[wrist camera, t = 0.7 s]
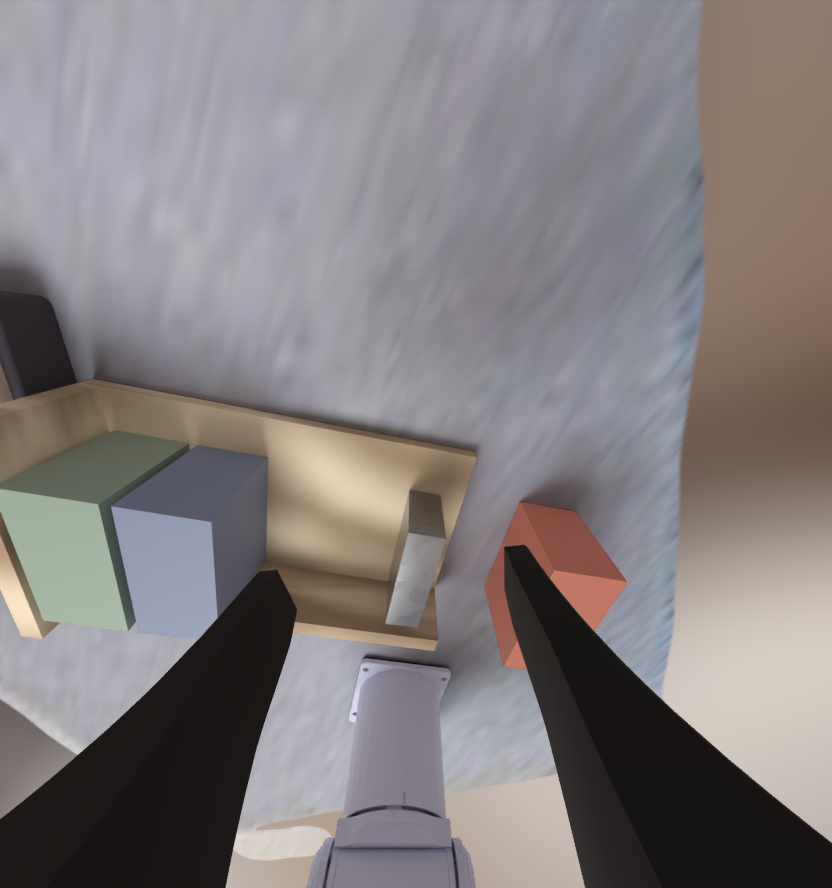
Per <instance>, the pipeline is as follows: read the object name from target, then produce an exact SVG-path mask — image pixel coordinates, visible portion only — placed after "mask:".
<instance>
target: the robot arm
mask: <svg viewBox="0 0 832 888" xmlns="http://www.w3.org/2000/svg"><path fill="white" fill-rule="evenodd" d="M504 591H505V595H506V599H507V604H508V608H509V613H510V617H511V621H512V625H513V628H514V631H515V634H516V637H517V640H518V643H519V647H520V650H521V653H522V656H523V659H524V662H525V665H526V668H527V671H528V674H529V677H530V680H531V682H532V685H533V688H534V691H535V694H536V697H537V700H538V703H539V706H540V709H541V713H542V716H543V720H544V723H545V726H546V730H547V733H548V737H549V741H550V745H551V749H552V753H553V757H554V761H555V765H556V769H557V773H558V777H559V781H560V785H561V789H562V793H563V797H564V801H565V805H566V809H567V813H568V818H569V822H570V826H571V830H572V834H573V838H574V842H575V847H576V851H577V855H578V859H579V863H580V868H581V872H582V876H583V880H584V885H585V888H832V843H831V842H830V841H829V840H827V839H826V838H825V837H823V836H822V835H820V833H818V832H817V831H816V830H814V829H813V828H812V827H811V826H810V825H808V824H807V823H806V822H805V821H803V820H802V819H801V818H800V817H798V816H797V815H796V814H795V813H793V812H792V811H791V810H790V809H788V808H787V807H786V806H785V805H783V804H782V803H781V802H780V801H778V800H777V799H776V798H775V797H773V796H772V795H771V794H770V793H769V792H767V791H766V790H765V789H764V788H763V787H761V786H760V785H759V784H758V783H756V782H755V781H754V780H753V779H752V778H751V777H749V776H748V775H747V774H746V773H745V772H743V771H742V770H741V769H740V768H738V767H737V766H736V765H735V764H734V763H732V762H731V761H730V760H729V759H728V758H727V757H725V756H724V755H723V754H722V753H721V752H720V751H719V750H718V749H716V748H715V747H714V746H713V745H712V744H711V743H710V742H708V741H707V740H706V739H705V738H704V737H703V736H702V735H701V734H699V733H698V732H697V731H696V730H695V729H694V728H692V727H691V726H690V725H689V724H688V723H687V722H686V721H685V720H683V719H682V718H681V717H680V716H679V715H678V714H677V713H676V712H674V711H673V710H672V709H671V708H670V707H669V706H668V705H667V704H666V703H665V702H664V701H663V700H662V699H661V698H659V697H658V696H657V695H656V694H655V693H654V692H653V691H652V690H651V689H650V688H649V687H648V686H647V685H646V684H645V683H644V682H643V681H642V680H641V679H640V678H639V677H638V676H637V675H636V674H635V673H634V672H633V671H632V670H631V669H630V668H629V667H628V666H626V664H625V663H624V662H623V661H622V660H621V659H620V658H619V657H618V656H617V655H616V654H615V653H614V652H613V651H612V650H611V649H610V648H609V647H608V646H607V645H606V644H605V643H604V641H603V640H602V639H601V638H600V637H599V636H598V635H597V634H596V633H595V632H594V631H593V629H592V628H591V627H590V626H589V625H588V624H587V623H586V622H585V620H584V619H583V618H582V617H581V616H580V615H579V614H578V612H577V611H576V610H575V609H574V608H573V606H572V605H571V604H570V603H569V602H568V600H567V599H566V598H565V597H564V596H563V594H562V593H561V592H560V591H559V589H558V588H557V587H556V586H555V584H554V583H553V582H552V580H551V579H550V578H549V576H548V575H547V574H546V573H545V571H544V570H543V568H542V567H541V566H540V564H539V563H538V562H537V560H536V559H535V557H534V556H533V554H532V553H531V551H530V550H529V548H528V547H527V546H525V545H516V546H506V547H504ZM296 614H297V608H296V606H295V604H294V602H293V600H292V598H291V596H290V594H289V592H288V590H287V588H286V586H285V584H284V582H283V580H282V578H281V576H280V574H279V572H278V570H269V571H259V572H258V573H257V574H256V575H255V576H254V577H253V579H252V580H251V581H250V582H249V583H248V584H247V585H246V586H245V588H244V589H243V590H242V591H241V592H240V593H239V594H238V595H237V597H236V598H235V599H234V600H233V601H232V602H231V603H230V605H229V606H228V607H227V608H226V609H225V610H224V611H223V613H222V614H221V615H220V616H219V617H218V618H217V619H216V620H215V621H214V623H213V624H212V625H211V626H210V627H209V628H208V629H207V630H206V631H205V633H204V634H203V635H202V636H201V637H200V638H199V639H198V640H197V641H196V642H195V644H194V645H193V646H192V647H191V648H190V649H189V650H188V651H187V652H186V653H185V654H184V655H183V656H182V657H181V658H180V659H179V660H178V661H177V662H176V663H175V664H174V665H173V667H172V668H171V669H170V670H169V671H168V672H167V673H166V674H165V675H164V676H163V677H162V678H161V679H160V680H159V681H158V682H157V683H156V684H155V685H154V686H153V687H152V688H151V689H150V690H149V691H148V692H147V693H146V694H145V695H144V696H143V697H142V698H141V699H140V700H139V701H137V702H136V703H135V704H134V705H133V706H132V707H131V708H130V709H129V710H128V711H127V712H126V713H125V714H124V715H123V716H122V717H120V718H119V719H118V720H117V721H116V722H115V723H114V724H113V725H112V726H111V727H110V728H108V729H107V730H106V731H105V732H104V733H103V734H102V735H100V736H99V737H98V738H97V739H96V740H95V741H94V742H92V743H91V744H90V745H89V746H88V747H87V748H86V749H84V750H83V751H82V752H81V753H80V754H79V755H77V756H76V757H75V758H74V759H73V760H72V761H71V762H69V763H68V764H67V765H66V766H65V767H64V768H63V769H61V770H60V771H59V772H58V773H57V774H56V775H54V776H53V777H52V778H51V779H50V780H48V781H47V782H46V783H45V784H43V785H42V786H41V787H40V788H39V789H37V790H36V791H35V792H34V793H32V795H30V796H29V797H28V798H26V799H25V800H24V801H23V802H21V803H20V804H19V805H18V806H16V807H15V808H14V809H13V810H11V811H10V812H9V813H8V814H6V815H5V816H4V817H2V818H1V819H0V888H225V887H226V882H227V877H228V872H229V867H230V862H231V856H232V852H233V847H234V842H235V837H236V833H237V829H238V824H239V820H240V815H241V811H242V806H243V802H244V797H245V793H246V789H247V785H248V781H249V777H250V773H251V769H252V764H253V760H254V756H255V752H256V748H257V745H258V742H259V738H260V735H261V732H262V728H263V725H264V722H265V719H266V716H267V713H268V710H269V707H270V704H271V701H272V698H273V695H274V692H275V689H276V686H277V683H278V680H279V677H280V674H281V671H282V668H283V665H284V662H285V659H286V656H287V653H288V649H289V646H290V643H291V638H292V634H293V629H294V624H295V619H296ZM450 677H451V671H450V670H449V669H447V668H441V667H433V666H425V665H417V664H408V663H400V662H392V661H384V660H376V659H368V658H366V659H363V660H362V661H361V665H360V670H359V674H358V679H357V683H356V688H355V692H354V696H353V701H352V705H351V710H350V714H349V720H350V721H351V722H356V723H355V730H354V737H353V745H352V752H351V760H350V767H349V775H348V782H347V789H346V797H345V804H344V812H343V818H339V819H338V821H337V828H336V835H335V838H331V837H329V838H326V840H325V841H324V843H323V845H322V846H321V847H320V849H319V850H318V851H317V853H316V855H315V857H314V860H313V863H312V866H311V870H310V874H309V878H308V883H307V887H306V888H476V886H475V879H474V872H473V867H472V862H471V858H470V854H469V852H468V851H467V849H466V848H465V846H464V845H463V843H462V841H461V839H460V838H452V839H451V826H450V819H446V811H445V794H444V778H443V762H442V746H441V730H440V714H439V703H440V700H441V698H442V696H443V693H444V691H445V689H446V686H447V684H448V682H449V679H450Z"/></svg>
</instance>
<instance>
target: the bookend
mask: <svg viewBox="0 0 832 888" xmlns="http://www.w3.org/2000/svg"><path fill="white" fill-rule="evenodd" d="M445 542H446V532H445V525H444V517H443V510H442V502H441V495H436V494H431V493H425V492H419V491H413V490H409V493H408V497H407V501H406V506H405V510H404V514H403V518H402V522H401V526H400V531H399V535H398V539H397V543H396V547H395V551H394V556H393V560H392V564H391V568H390V573H389V585H388V597H387V609H386V620H385V624H392V625H399V626H406V627H414V628H418V626H419V623H420V620H421V617H422V614H423V611H424V608H425V604H426V601H427V598H428V595H429V592H430V589H431V586H432V583H433V579H434V576H435V573H436V570H437V567H438V564H439V561H440V558H441V554H442V551H443V548H444V545H445Z"/></svg>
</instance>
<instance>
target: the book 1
mask: <svg viewBox="0 0 832 888" xmlns="http://www.w3.org/2000/svg"><path fill="white" fill-rule="evenodd" d="M188 451H190V449H189V443H185V442H180V441H174V440H169V439H163V438H157V437H152V436H146V435H140V434H135V433H129V432H124V431H118V430H114V431H112V432H110V433H108V434H106V435H104V436H101V437H99V438H97V439H95V440H93V441H91V442H88V443H86V444H84V445H82V446H80V447H78V448H75V449H73V450H71V451H69V452H67V453H65V454H62V455H60V456H58V457H56V458H54V459H52V460H49V461H47V462H45V463H43V464H41V465H39V466H36V467H34V468H32V469H30V470H28V471H26V472H23V473H21V474H19V475H17V476H15V477H13V478H10V479H8V480H6V481H4V482H2V483H0V512H1V514H2V517H3V519H4V522H5V524H6V527H7V529H8V532H9V534H10V537H11V540H12V542H13V545H14V547H15V550H16V552H17V555H18V557H19V560H20V562H21V565H22V567H23V570H24V572H25V575H26V578H27V580H28V583H29V585H30V588H31V590H32V593H33V595H34V598H35V600H36V603H37V605H38V608H39V610H40V613H41V616H42V618H43V621H51V622H59V623H68V624H76V625H84V626H92V627H100V628H108V629H116V630H124V631H129V629H130V628H131V627H132V626H133V625H134V624H135V622H136V618H135V614H134V609H133V605H132V600H131V596H130V591H129V586H128V582H127V577H126V573H125V568H124V564H123V559H122V555H121V550H120V545H119V541H118V536H117V532H116V527H115V523H114V518H113V514H112V509H111V506H112V505H114V504H115V503H116V502H118V501H119V500H121V499H122V498H123V497H125V496H126V495H128V494H129V493H130V492H132V491H133V490H135V489H136V488H138V487H139V486H140V485H142V484H143V483H145V482H146V481H147V480H149V479H150V478H152V477H153V476H155V475H156V474H157V473H159V472H160V471H162V470H163V469H164V468H166V467H167V466H169V465H170V464H171V463H173V462H174V461H176V460H177V459H179V458H180V457H181V456H183V455H184V454H186V453H187V452H188Z"/></svg>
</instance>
